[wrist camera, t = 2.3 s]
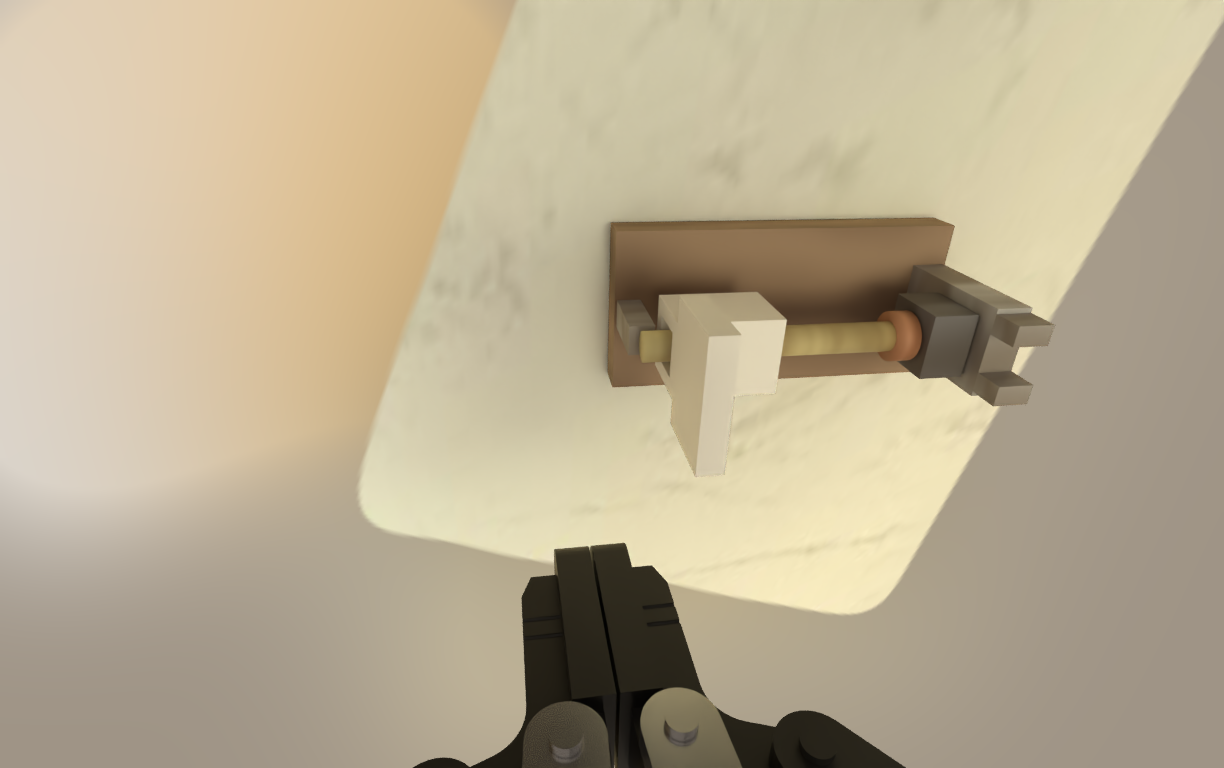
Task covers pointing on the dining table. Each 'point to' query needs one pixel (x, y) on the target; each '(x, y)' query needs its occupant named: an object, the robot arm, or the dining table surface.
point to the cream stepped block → (716, 366)
